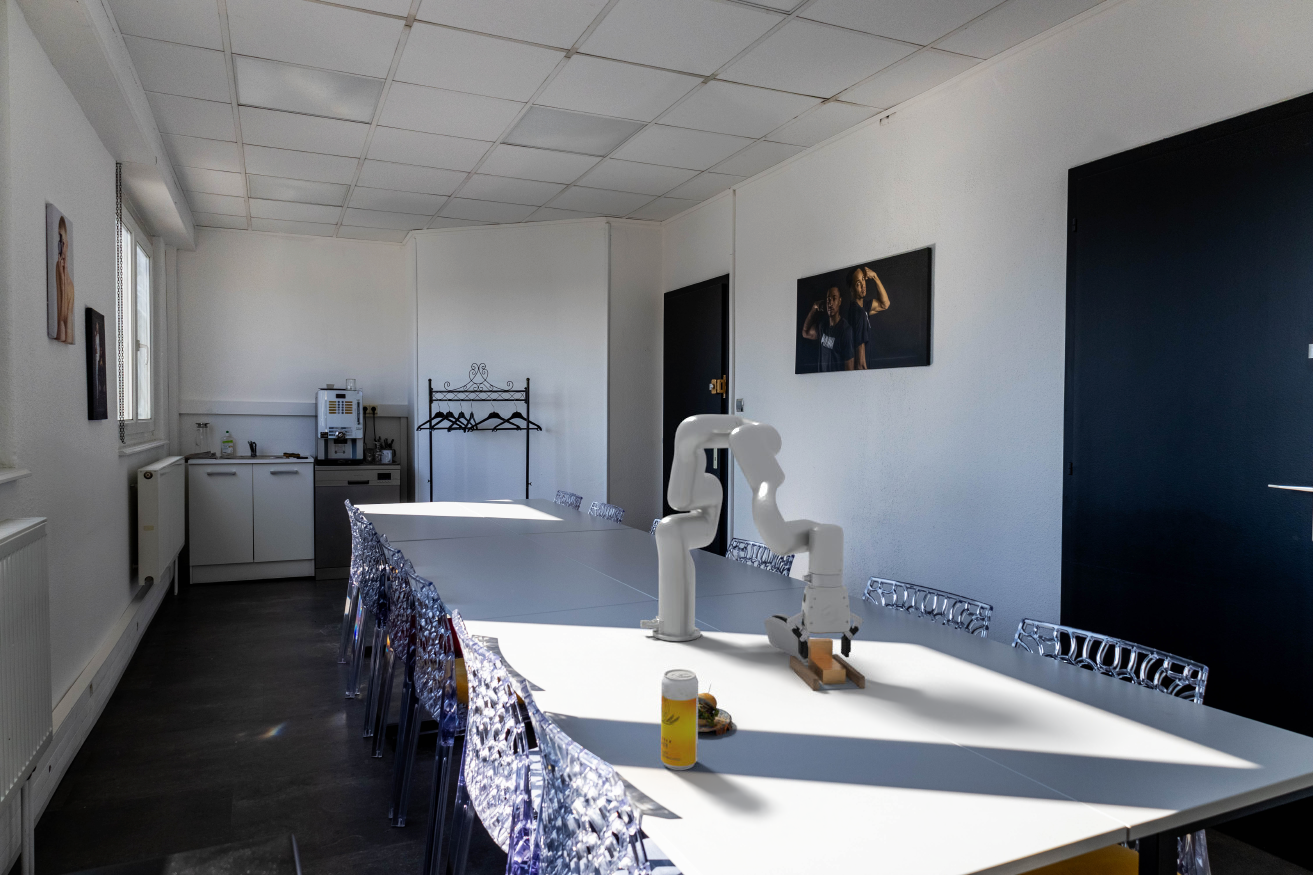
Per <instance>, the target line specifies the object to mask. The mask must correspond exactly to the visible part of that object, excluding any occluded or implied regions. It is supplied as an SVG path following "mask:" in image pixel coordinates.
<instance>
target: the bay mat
mask: <svg viewBox="0 0 1313 875" xmlns="http://www.w3.org/2000/svg"><path fill="white" fill-rule="evenodd" d="M804 665H805V666H806V667H807V668H808V664H804ZM855 689H857V690H858V689H859V687H858V686H857V685H856V684H855V683H853V682H852V681H851V680H850V679H849V678H848V677H846V676H845V683H842V684H822V683H821V682H820V681H819V690H818V691H832V690H855ZM859 690H860V689H859Z"/></svg>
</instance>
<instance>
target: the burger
mask: <svg viewBox="0 0 1313 875" xmlns="http://www.w3.org/2000/svg"><path fill="white" fill-rule="evenodd" d="M711 686H712V684H710V686H709V689H708V692H701V693H698V733H699V732H701V733H703V732H706V733H708V732H714V731H715V732H716V733H715V734H716V736H722V735H723V734H726V732H727V728H728V729H729V731H730V730H732V729H733V718H732V715H731V714H730V713H728V711H726V710H724V709H722V708H718V707H717V706H718V702H717V699H716V697H715V695H713V694H711V693H710V690H711Z"/></svg>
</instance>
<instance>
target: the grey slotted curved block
mask: <svg viewBox="0 0 1313 875" xmlns="http://www.w3.org/2000/svg"><path fill="white" fill-rule="evenodd" d="M791 617H792V616H791V615H788V614H785V613H776V614H773V615H771V616H769V617H767V618H765V620H764V621H763V623H764V627H765V632H766V635H767V639H768V642H769V644H770V645H772V646H774V647H776V648H777V649H779V650H781V651H783V652H785V653H786V654H788V655H789V656H795V657H797V658H798V659H799V660H800V661H801V662H802V663H803V662H808V653H807V659H803V658H802V657H801V656H800V654H799V653H798V638H797V637H796V636H795V635H794V634H793V633H792V632H791V630H790V628H789V626H788V624H787V620H788V619H789V618H791ZM795 626H796V628H797V630H798V631H799V630H800V629H801V628H802V625H801V622H800V621H799V622H797V623H796V624H795ZM808 639H811V638H810V635H809V636H808V637H807V638H806V641H807V642H808Z"/></svg>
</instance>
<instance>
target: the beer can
mask: <svg viewBox="0 0 1313 875" xmlns="http://www.w3.org/2000/svg"><path fill="white" fill-rule="evenodd" d="M698 694H699V680H698V678H697V674H696V672H695V671H692V670H689V669H684V668H683V669H682V668H677V669H676V668H674V669H670V670H667V671H665V672H664V674H663V677H662V678H661V702H660V703H661V704H660V705H661V706H660V707H661V708H660V710H661V711H660V713H661V714H660V715H661V717H660V721H661V722H660V726H661V727H660V733H661V734H660V759H661V761H662V763H663V765H664V766H665V767H666V768H668V769H671V770H675V771H683V770H688V769H689V770H690V769H691V768H693V767H694V766H695V763H697V761H698V759H699V758H698V753H699V752H698V750H699V748H698V746H699V744H698V743H699V739H698V738H699V735H698V734H699V731H698Z"/></svg>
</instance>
